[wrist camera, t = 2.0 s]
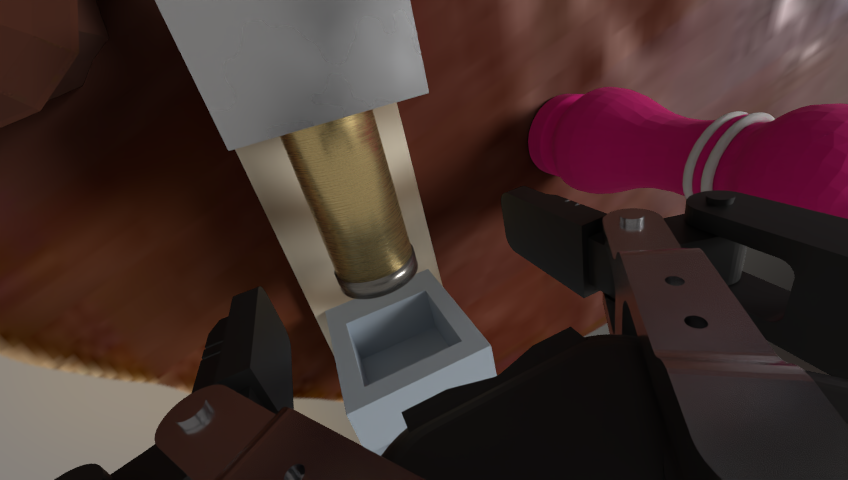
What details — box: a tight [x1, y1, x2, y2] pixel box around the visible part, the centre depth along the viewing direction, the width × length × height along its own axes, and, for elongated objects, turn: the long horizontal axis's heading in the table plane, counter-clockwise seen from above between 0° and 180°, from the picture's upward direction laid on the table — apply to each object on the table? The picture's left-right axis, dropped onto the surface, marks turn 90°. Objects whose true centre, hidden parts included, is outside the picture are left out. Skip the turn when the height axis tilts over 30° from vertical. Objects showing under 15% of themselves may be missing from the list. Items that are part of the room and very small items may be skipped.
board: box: [235, 103, 442, 355], centre depth 24 cm, size 24×10×1 cm, turn 14°
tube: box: [280, 109, 418, 299], centre depth 16 cm, size 18×5×5 cm, turn 14°
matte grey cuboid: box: [155, 0, 429, 151], centre depth 16 cm, size 5×8×9 cm, turn 104°
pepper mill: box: [528, 87, 848, 219], centre depth 21 cm, size 7×7×20 cm
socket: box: [325, 269, 497, 456], centre depth 24 cm, size 4×8×10 cm, turn 104°
